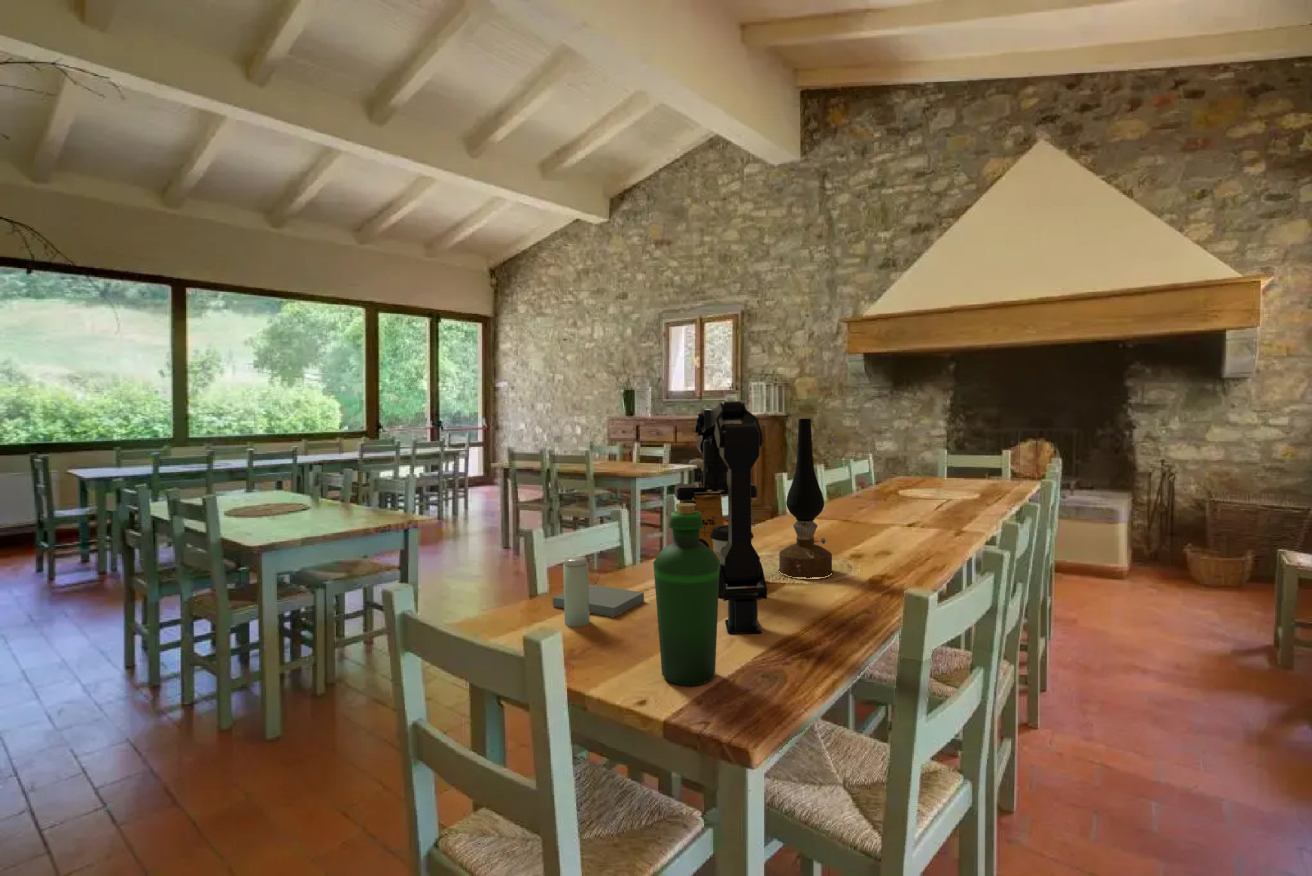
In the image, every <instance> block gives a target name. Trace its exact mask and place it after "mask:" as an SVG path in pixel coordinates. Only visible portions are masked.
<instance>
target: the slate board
mask: <svg viewBox="0 0 1312 876" xmlns="http://www.w3.org/2000/svg"><path fill="white" fill-rule="evenodd" d="M644 602H645V592H642V591H637V590H629V589H624V588H618V587H617V588H616V587H611V586H603V585H596V584H590V583H589V612H591V613H590V614H592V613H596V614H595V615H598V614H601V615H600V616H603V615H605V617H609V616H613V617H612V618H616V617H618V616H619V614H620V613H622V612H623V613H625V612H628V611H629V610H631V609H632V607H633V608H634V607H637V606H638V605H640V604H642V603H644ZM639 603H640V604H639ZM552 607H553V608H558V607H559V608H560V607H561V608H560V609H564V592H562V593H560V594H558V595H555V596H553V597H552ZM630 608H631V609H630ZM628 609H629V610H628ZM624 611H625V612H624ZM623 613H622V614H623ZM620 615H621V614H620ZM615 616H616V617H615Z"/></svg>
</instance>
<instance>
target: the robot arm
mask: <svg viewBox="0 0 1312 876" xmlns="http://www.w3.org/2000/svg"><path fill="white" fill-rule="evenodd" d="M738 421H740V423H736V422H738ZM693 428H694V429H693V430H694V433H695V435H696V436H698V438H697V440H696V442H695V444H696V449H697V450H698V452H699V453H700V454H701V455H702V468H701V467H699V468H698V467H696V468H695V467H694V468H692V481H693V483H700V486H699V487H697V486H696V487H694V486H693V484H692V483H679V484H678V483H676V485H675V486H674V497H675V498H676V500H677V501H680V500H681V501H682V503H694V504H696V501H695V500H694V498H693V497H694V495H721V496H722V495H727V503H728V504H727V507H728V509H727V511H728V515H727V516H728V518H727V519H728V521H727V523H728V524H727V525H728V542H727V544H726V546H725V547H722V549H721V558H720V570H719V594H718V600H719V599H720V600H722V601H723V602H726V601H727V619H725V620H724V623H725V628H726V632H727V633H728V634H762V627H761V625H760V622H759V618H758V615H759V614H758V612H759V611H758V600H760V599H761V600H766V599H767V598H768V587H767V583H766V578H765V573H764V568H763V565H762V562H761V557H760V556H759V554H758V552H757V551H756V548H755V547H754V546H753V544H752V540H751V532H752V499H755V498H758V488H757V486H756V485H755V484H753V483H752V469H753V468H754V466H755V464H756V462H757V461H758V459H759V457H760V449H761V447H762V445H763V433H762V429H761V425H760V423H759V419H758V418H757V417H756V416H755V415H754V414H752V413H751V412H750V411H749V410H748V409H747V408H746V405H745V403H744V402H743V401H740V400H734V401H732V400H731V401H729V400H728V401H727V400H726V401H722V402H719V403H718V405H717V406H716V407H703V408H701V409H700V412H698V414H697V417H696V419H695V422H694V427H693ZM707 490H710V491H707ZM718 490H719V491H718ZM695 511H697V510H696V508H695ZM727 587H747V588H740V589H726V588H727Z"/></svg>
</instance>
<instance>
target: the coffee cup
mask: <svg viewBox="0 0 1312 876" xmlns="http://www.w3.org/2000/svg"><path fill="white" fill-rule="evenodd" d="M710 537H711V538H712V540H713V551H714V553H715V554H716V556H717V557H718V559H719V560H720V558H721V549H722V547H725V546H726V544H727V542H728V524H724V525H722V526H717V527H714V528H713V532H712V533H711V536H710ZM753 539H754V533H752V531H751V541H752V540H753ZM740 588H748V587H727V588H726V589H740Z"/></svg>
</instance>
